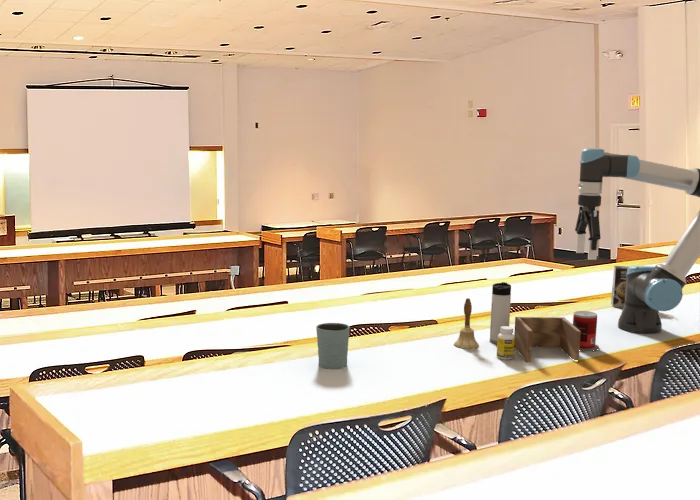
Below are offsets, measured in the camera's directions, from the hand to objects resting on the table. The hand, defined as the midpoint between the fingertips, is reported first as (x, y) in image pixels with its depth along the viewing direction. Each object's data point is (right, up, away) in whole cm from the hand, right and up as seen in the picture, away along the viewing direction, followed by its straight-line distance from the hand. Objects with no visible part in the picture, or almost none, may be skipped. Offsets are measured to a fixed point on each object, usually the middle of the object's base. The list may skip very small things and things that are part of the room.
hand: (585, 256), depth 298 cm
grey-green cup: (-86, -33, -34) cm, 98 cm away
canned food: (-3, -30, -8) cm, 31 cm away
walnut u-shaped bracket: (-18, -32, -18) cm, 40 cm away
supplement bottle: (-32, -32, -22) cm, 50 cm away
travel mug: (-30, -29, -4) cm, 42 cm away
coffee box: (+30, -21, +56) cm, 67 cm away
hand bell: (-42, -30, -9) cm, 52 cm away
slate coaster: (-3, -30, -8) cm, 32 cm away
